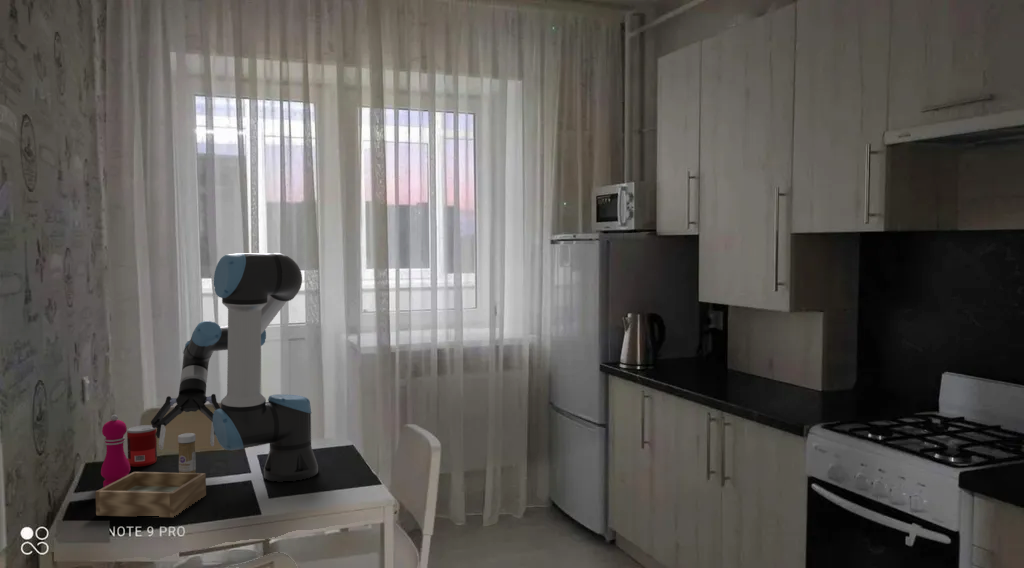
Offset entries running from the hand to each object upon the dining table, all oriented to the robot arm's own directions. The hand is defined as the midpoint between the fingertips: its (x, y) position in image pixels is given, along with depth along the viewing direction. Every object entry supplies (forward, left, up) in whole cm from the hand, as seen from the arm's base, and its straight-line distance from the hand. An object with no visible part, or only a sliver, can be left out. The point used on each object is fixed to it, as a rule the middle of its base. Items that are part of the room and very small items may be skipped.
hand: (186, 445), depth 209 cm
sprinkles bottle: (-2, +3, -10) cm, 10 cm away
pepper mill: (+16, +8, -10) cm, 21 cm away
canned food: (+21, -13, -10) cm, 27 cm away
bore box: (-3, +22, -9) cm, 24 cm away
